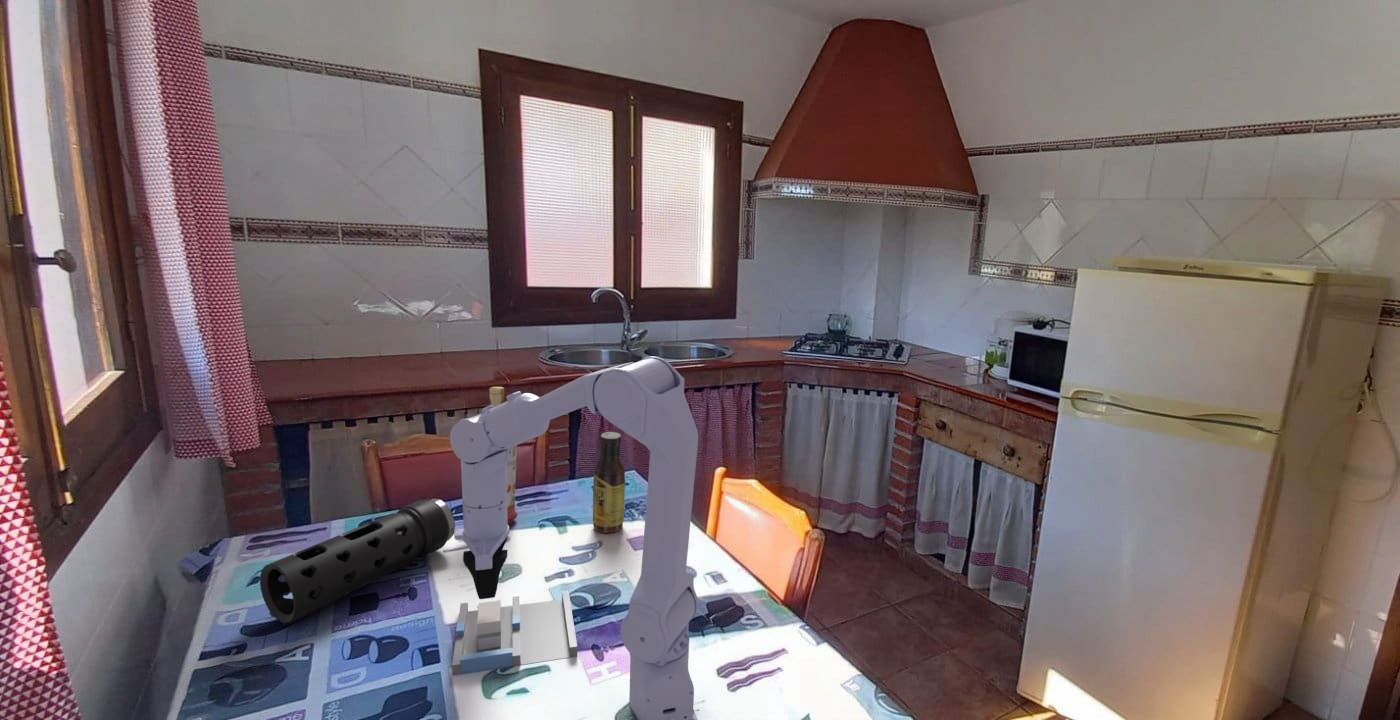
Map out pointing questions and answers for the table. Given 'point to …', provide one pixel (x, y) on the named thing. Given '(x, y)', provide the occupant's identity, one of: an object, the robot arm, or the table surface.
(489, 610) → the beige rectangular box
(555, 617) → the board
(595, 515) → the sauce bottle
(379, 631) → the table surface
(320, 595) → the muzzle brake
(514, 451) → the liquor
